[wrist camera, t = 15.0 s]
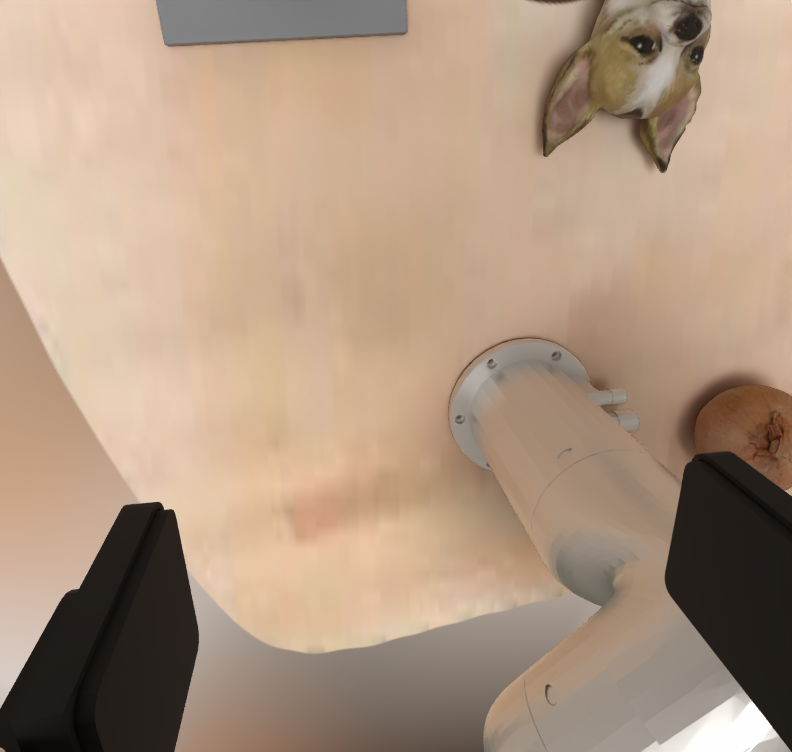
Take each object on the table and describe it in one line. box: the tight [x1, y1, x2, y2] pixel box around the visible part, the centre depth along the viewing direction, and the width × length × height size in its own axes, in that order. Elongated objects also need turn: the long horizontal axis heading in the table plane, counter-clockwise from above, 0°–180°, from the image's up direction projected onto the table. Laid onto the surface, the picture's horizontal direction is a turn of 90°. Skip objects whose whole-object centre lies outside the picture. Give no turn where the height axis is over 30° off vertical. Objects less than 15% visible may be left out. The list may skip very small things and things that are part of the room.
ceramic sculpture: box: [542, 0, 712, 173], centre depth 37 cm, size 11×9×15 cm
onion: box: [694, 385, 792, 490], centre depth 51 cm, size 10×9×10 cm
